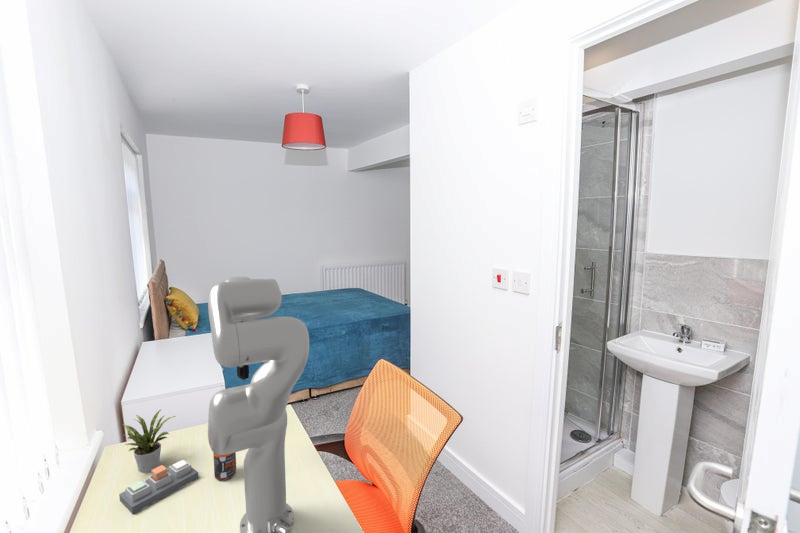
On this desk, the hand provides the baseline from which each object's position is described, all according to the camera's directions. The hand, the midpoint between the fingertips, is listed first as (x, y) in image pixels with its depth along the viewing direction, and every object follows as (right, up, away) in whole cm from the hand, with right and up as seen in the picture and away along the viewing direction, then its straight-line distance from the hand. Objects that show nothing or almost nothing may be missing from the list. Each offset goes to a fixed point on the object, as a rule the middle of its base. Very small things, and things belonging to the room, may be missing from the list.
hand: (243, 377), depth 120 cm
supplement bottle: (-4, -28, -3) cm, 28 cm away
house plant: (-28, -27, +1) cm, 39 cm away
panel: (-19, -29, -9) cm, 36 cm away
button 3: (-16, -26, -5) cm, 31 cm away
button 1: (-23, -27, -14) cm, 38 cm away
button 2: (-19, -25, -10) cm, 33 cm away
